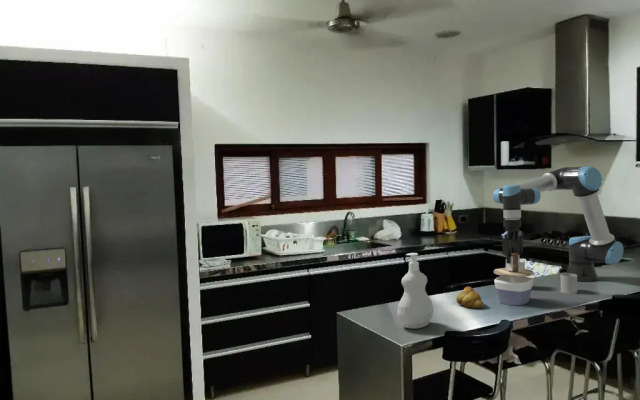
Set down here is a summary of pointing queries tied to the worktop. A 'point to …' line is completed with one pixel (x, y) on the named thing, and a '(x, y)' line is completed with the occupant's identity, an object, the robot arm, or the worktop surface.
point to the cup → (569, 283)
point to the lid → (514, 269)
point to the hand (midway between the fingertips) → (513, 269)
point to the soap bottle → (414, 298)
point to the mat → (560, 298)
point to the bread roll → (469, 298)
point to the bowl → (513, 289)
